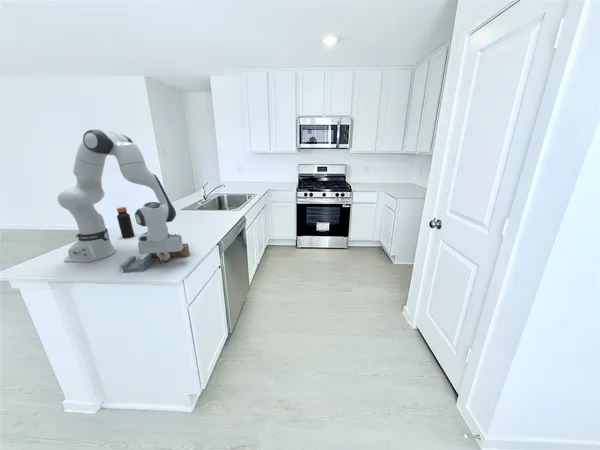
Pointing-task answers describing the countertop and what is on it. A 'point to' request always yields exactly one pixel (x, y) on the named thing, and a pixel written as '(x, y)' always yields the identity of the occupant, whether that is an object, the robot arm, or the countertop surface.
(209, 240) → the countertop surface
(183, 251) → the beam
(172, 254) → the gold bar
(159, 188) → the robot arm
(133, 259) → the v block
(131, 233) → the bottle
